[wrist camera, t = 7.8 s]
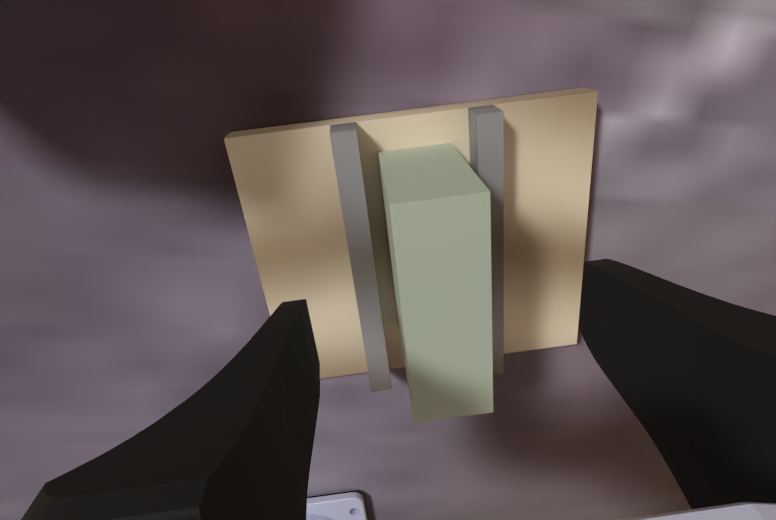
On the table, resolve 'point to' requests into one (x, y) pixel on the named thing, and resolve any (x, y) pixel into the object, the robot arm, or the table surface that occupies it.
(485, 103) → the track board
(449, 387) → the pale green block
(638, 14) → the table surface
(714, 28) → the table surface
